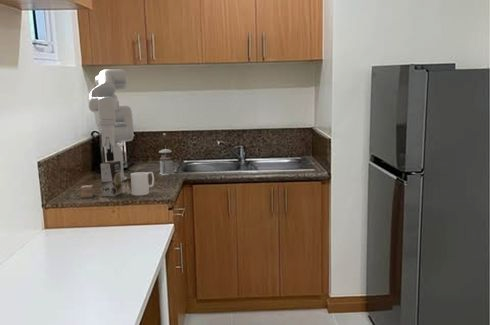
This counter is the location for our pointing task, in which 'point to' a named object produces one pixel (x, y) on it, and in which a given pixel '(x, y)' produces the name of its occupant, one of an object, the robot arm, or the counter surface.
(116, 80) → the robot arm
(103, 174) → the coffee box
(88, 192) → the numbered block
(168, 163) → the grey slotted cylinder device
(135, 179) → the cup
